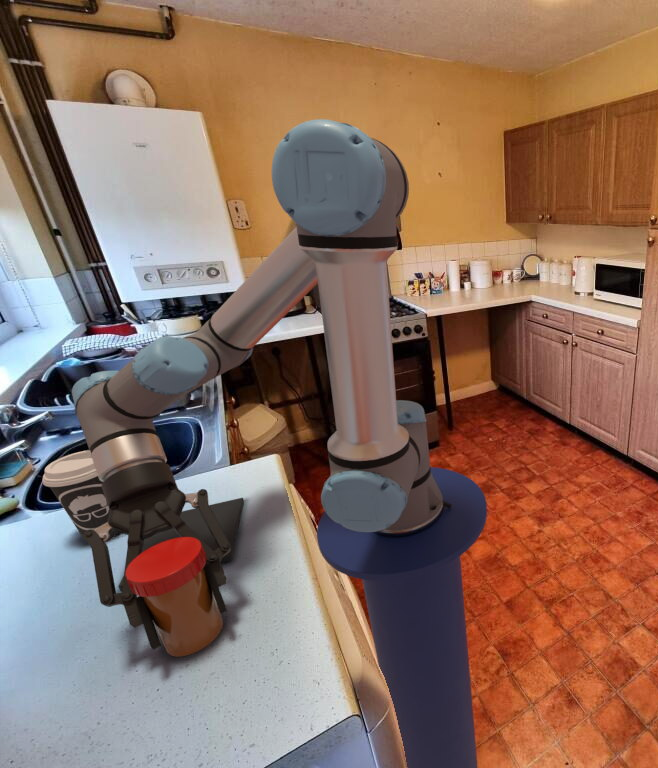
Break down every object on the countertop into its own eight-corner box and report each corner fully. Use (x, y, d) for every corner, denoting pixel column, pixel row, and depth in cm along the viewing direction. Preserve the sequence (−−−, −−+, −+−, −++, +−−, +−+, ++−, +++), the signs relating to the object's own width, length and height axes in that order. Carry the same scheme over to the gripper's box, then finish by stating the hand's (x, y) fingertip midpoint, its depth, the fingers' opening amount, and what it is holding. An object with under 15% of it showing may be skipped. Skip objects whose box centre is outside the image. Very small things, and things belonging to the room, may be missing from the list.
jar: (226, 607, 65) (201, 537, 60) (218, 645, 59) (190, 571, 54) (173, 624, 62) (142, 552, 57) (159, 664, 57) (125, 589, 52)
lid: (211, 543, 61) (207, 529, 60) (200, 584, 55) (194, 569, 54) (142, 561, 58) (136, 547, 58) (121, 606, 52) (114, 591, 51)
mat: (244, 501, 89) (242, 497, 88) (230, 560, 73) (229, 556, 73) (154, 522, 83) (152, 517, 83) (120, 591, 68) (118, 586, 68)
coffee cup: (152, 516, 85) (126, 449, 80) (102, 551, 76) (68, 478, 71) (112, 511, 87) (83, 445, 81) (58, 545, 78) (21, 473, 72)
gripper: (216, 456, 71) (270, 589, 66) (47, 511, 58) (98, 680, 53) (215, 438, 65) (274, 582, 60) (27, 494, 53) (82, 682, 48)
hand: (191, 628), depth 57 cm, fingers closed on jar, 7 cm apart
